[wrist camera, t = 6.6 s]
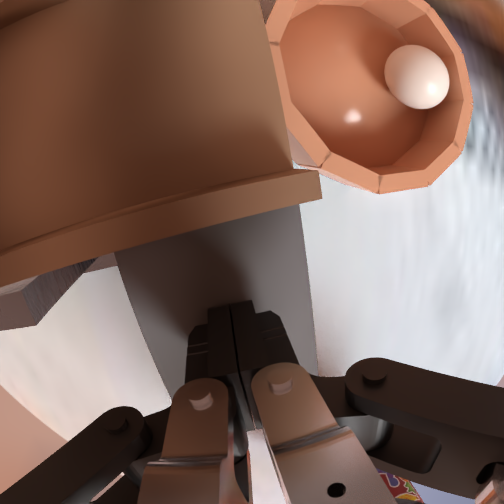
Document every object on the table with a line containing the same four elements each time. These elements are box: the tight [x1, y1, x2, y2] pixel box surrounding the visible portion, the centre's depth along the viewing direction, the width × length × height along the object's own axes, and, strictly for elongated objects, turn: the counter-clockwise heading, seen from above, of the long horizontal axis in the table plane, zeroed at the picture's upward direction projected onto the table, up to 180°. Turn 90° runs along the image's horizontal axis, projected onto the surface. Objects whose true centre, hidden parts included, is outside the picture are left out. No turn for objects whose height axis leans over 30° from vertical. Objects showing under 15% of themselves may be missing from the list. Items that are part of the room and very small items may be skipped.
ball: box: [384, 45, 449, 109], centre depth 12 cm, size 4×4×4 cm
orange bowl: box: [265, 0, 473, 194], centre depth 12 cm, size 11×11×4 cm
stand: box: [0, 252, 118, 331], centre depth 9 cm, size 6×14×8 cm, turn 10°
